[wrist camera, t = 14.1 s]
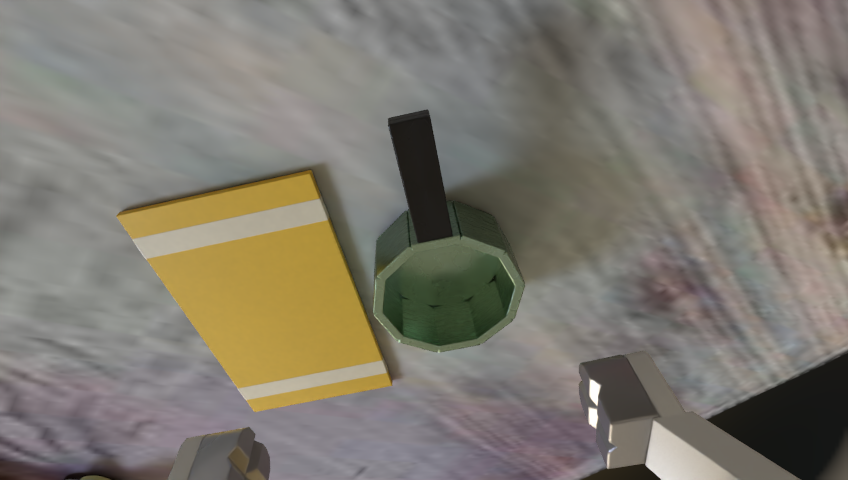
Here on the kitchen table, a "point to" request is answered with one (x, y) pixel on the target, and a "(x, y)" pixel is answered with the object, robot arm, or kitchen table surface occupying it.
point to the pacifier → (91, 478)
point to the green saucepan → (440, 257)
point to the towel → (265, 288)
